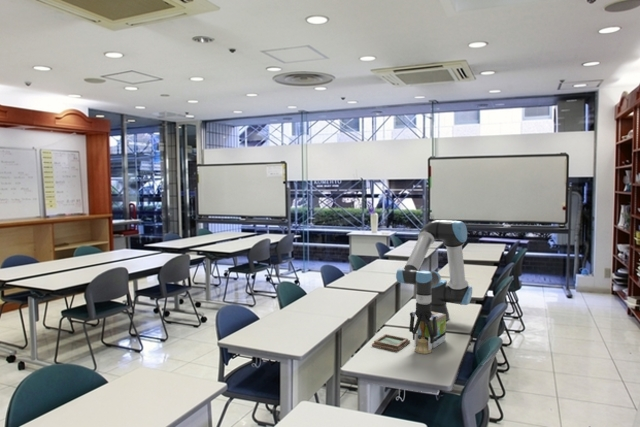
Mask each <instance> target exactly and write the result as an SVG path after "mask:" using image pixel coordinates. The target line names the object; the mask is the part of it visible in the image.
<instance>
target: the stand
mask: <svg viewBox="0 0 640 427" xmlns="http://www.w3.org/2000/svg"><path fill="white" fill-rule="evenodd" d="M410 343H411V340H409V338H406V337H400V336H396V335H393V334H387V333H385V334H383V335H381V336H380V337H378V338H377V339H375V340H374V341H373V343H372V344H371V346H372V347H373V348H377V349H382V350H385V351H390V352H395V353H398V352H399V351H400V350H402V349H403V348H405V347H406V346H407V345H409V344H410Z"/></svg>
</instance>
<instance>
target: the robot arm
mask: <svg viewBox="0 0 640 427" xmlns="http://www.w3.org/2000/svg"><path fill="white" fill-rule="evenodd" d="M417 238H418V239H417V241H416V243H415V245H414V248H412V249H413V250H412V251H411V253H410V255H409V257H408V259H407V261H406V263H405V266H404V267H403V268H399V269H397V270H396V275H395V278H396V281H397V283H400V284H405V285H412V286H413V285H415V311H411V312H410V313H409V317H410V318H409V327H408V328H409V329H408V331H409V333H412V340H414V348H416V347H417V346H418V333H417V330H418V327H419V324H420V322H421V321H424V322H425V323H426V325H427V328H428V331H429V335H430V336H429V337H428V350H431V351H432V349H433V348H432V343H433V342H434V337H436V336H437V335H438V332H437V316H434V315H432V313H431V311H432V312H437V313H442V314H446V321H447V320H449V319H450V313H449V310H448V306H447V303H448V304H449V303H450V304H455V305H461V306H467V305H469V304H470V302H471V300H472V296H473V286H471V285H469V282H468V280H466V277H465V276H466V274H465V263H464V253H463V246H464V244H465V242H467V239H468V229H467V226H466V224H465V222H463V221H460V220H447V219H445V220H442V219H436V220H432V221H430V222H428V223H427V224H426V225H424V226H423V227H422V228H421V230H420V231H419V232H418V235H417ZM435 241H443V243H442V244H443V246H445V248H446V254H447V263H448V272H449V281H447V280H446V279H441V277H442V276H441V275H440V273H439V272H438V271H435V270H430V271H429V270H420V268H421V266H422V264H423V262H424V260H425V259H426V258H425V257H426V255H427V254H428V251H429V249H430V247H431V245H432V244H434V243H435ZM431 317H432V320H433V330H432V326H431V323H430V318H431ZM415 318H416V321H415Z"/></svg>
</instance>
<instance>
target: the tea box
mask: <svg viewBox="0 0 640 427" xmlns="http://www.w3.org/2000/svg"><path fill="white" fill-rule="evenodd" d="M431 313H432V315H434V316H437V332H438V335H437V336H436V337H434V342H433V343H432V349H435V348H437V347H438V346H439V345H441V344H442V343H444V342H446V331H447V330H446V329H447V320H446V314H442V313H437V312H432V311H431ZM420 323H421V322H420ZM430 323H431V326H432V330H433V320H432V317H431V318H430ZM425 325H426V323H425ZM416 333H418V341H419V339H421V328H420V324H419V327H418V330H417V332H416ZM429 336H430V335H429V331H428V328H427V325H426V327H425V339H426V340H427V341H428V337H429Z"/></svg>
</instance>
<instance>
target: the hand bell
mask: <svg viewBox="0 0 640 427" xmlns="http://www.w3.org/2000/svg"><path fill="white" fill-rule="evenodd" d="M425 327H426V325H425V322H424V321H421V323H420V328H421V339H419V341H418V346H417V347H414V352H416V353H418V354H420V355H421V354H422V355H428V354H430V353H432V349H431V350H428V341H427V340H426V339H425Z"/></svg>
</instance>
